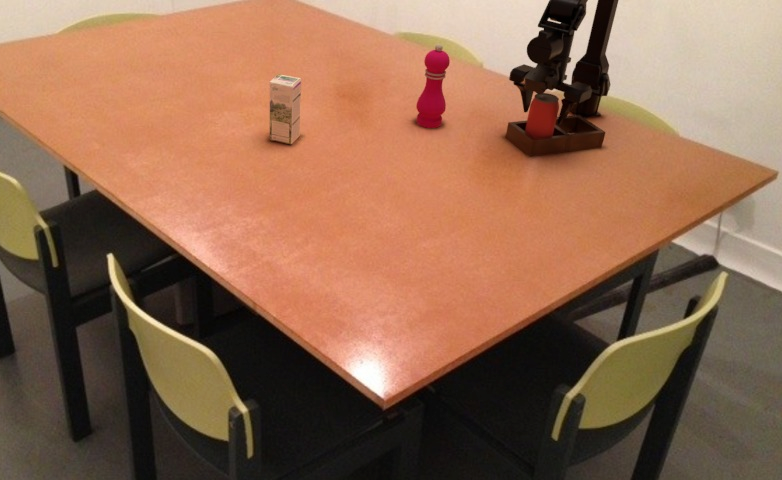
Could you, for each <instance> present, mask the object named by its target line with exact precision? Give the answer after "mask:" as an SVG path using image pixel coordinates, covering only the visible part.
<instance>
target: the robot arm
mask: <svg viewBox="0 0 782 480" xmlns="http://www.w3.org/2000/svg"><path fill="white" fill-rule="evenodd" d="M587 2H589V0H549V1H548V2H547V4H546V6H545V9H544V10H543V13H542V15H541V17H540V20H539V22H538V23H537V28H541V30H539V31H538V34H537V36H535V37H533V38H532V39H531V40H530V41H529V42H528V44H527V46H526V54H527V57H528V59H529V60H530V61H531V62H532V63H534V64H536V66H535V67H534V66H531V65H528V64H525V63H524V64H523V63H522V64H521V65H519V66H516V67H514V68H512V69H511V71H510V72H509V76H508V80H509V81H510V82H513V86H516V87H517V88H518V89H519V92H520V97H521V103H522V109H523V113H529V110H530V105H531V102H532V101H533V94H534V93H535V94H542V93H546V91H547V90H548V91H554V90H557V91H559V92H563V97H564V98H561V108H560V110H559V111H560V112H559V114H558V117H559V118H558V125H560V124H561V123H562V122H563V120H564V119H565V118H566V116H569V114H570V113H572V114H573V115H580V116H582V117H583V118H585V119H586V118H596V117H597V118H598V117H601V116H602V115H601V113H600V112H599V107H600V103H601V101H602V97H607V96H608V94H609V91H610V88H611V80H610V75H609V68H610V63H609V60H608V58H607V50H608V45H609V41H610V36H611V32H612V27H613V24H614V21H615V18H616V17H615V16H616V12H617V9H618V4H619V0H597V3H596V8H595V11H594V16H593V20H592V24H591V28H590V33H589V38H588V42H587V45H586V51H585V53H584V55H582V57H581V58H580V59H579V60H578V61H577V62H576V63H575V65H574V66H575V67H574V68H573V71H572V74H571V84H569V83H566V82H564V81H567V79H568V75H567V74H566V73H567V67H568V64H570V63H571V61H572V57H570V54H571V50H572V46H573V42H574V38H575V32H577V31H578V29H579V28H580V26H581V24H582V22H583V20H584V19H585V17H586V15H587Z"/></svg>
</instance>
